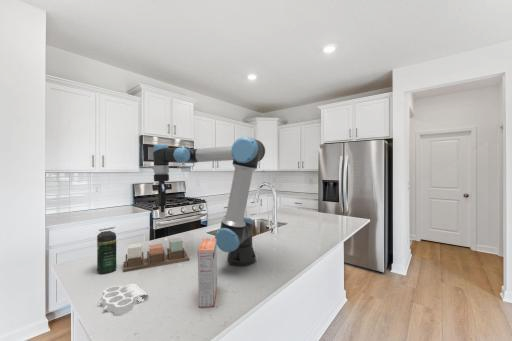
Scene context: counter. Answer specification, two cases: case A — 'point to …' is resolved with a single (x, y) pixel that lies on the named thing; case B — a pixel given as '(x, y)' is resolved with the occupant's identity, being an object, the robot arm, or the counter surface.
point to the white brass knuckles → (122, 298)
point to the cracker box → (207, 272)
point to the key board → (154, 260)
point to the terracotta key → (155, 249)
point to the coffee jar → (106, 252)
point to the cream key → (134, 250)
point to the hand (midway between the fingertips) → (162, 217)
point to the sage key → (175, 244)
